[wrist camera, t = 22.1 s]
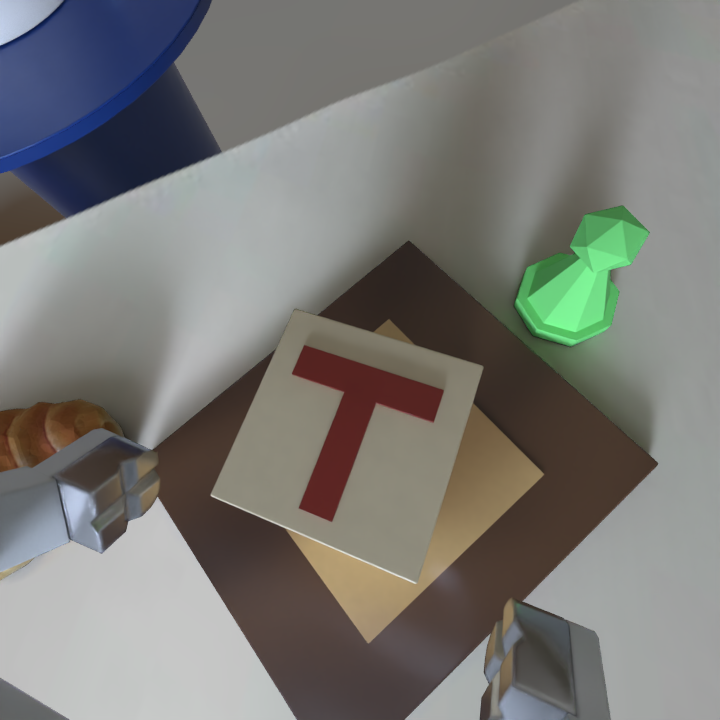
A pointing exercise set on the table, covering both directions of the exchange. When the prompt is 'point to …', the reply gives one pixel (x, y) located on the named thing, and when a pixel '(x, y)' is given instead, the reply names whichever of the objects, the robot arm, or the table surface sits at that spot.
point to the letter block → (352, 441)
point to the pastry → (46, 435)
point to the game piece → (580, 279)
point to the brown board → (453, 527)
